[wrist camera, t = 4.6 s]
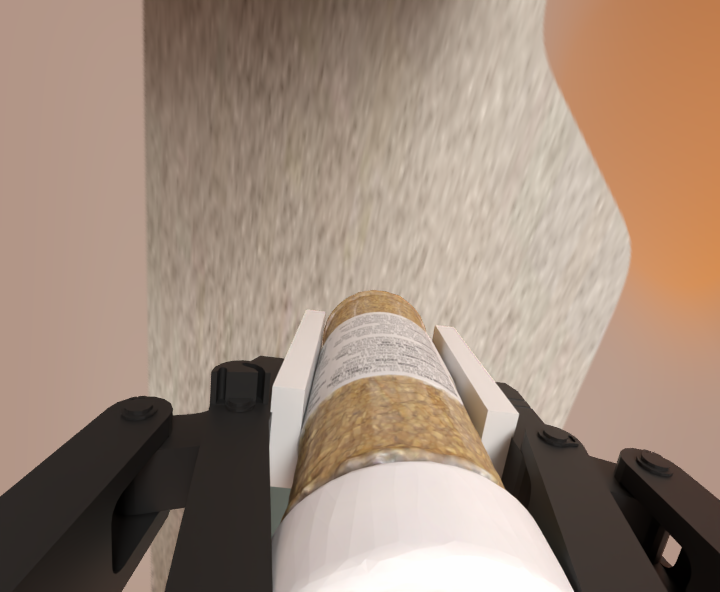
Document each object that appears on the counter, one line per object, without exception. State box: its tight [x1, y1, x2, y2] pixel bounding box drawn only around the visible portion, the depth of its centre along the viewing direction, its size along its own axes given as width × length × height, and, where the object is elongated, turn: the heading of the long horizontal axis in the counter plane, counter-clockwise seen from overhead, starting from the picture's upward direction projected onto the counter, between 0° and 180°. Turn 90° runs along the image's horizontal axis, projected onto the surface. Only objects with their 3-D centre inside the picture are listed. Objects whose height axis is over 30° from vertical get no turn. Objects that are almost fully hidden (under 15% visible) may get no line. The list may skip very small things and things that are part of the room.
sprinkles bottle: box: [271, 290, 574, 592], centre depth 11 cm, size 5×5×14 cm
